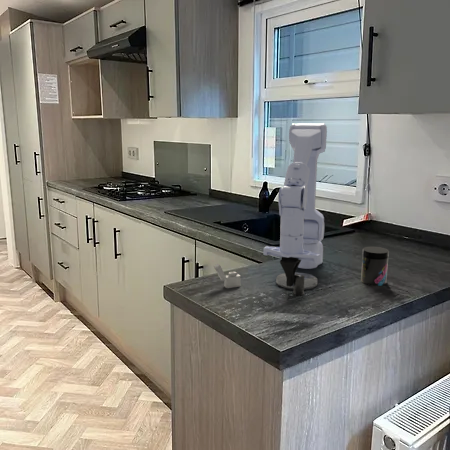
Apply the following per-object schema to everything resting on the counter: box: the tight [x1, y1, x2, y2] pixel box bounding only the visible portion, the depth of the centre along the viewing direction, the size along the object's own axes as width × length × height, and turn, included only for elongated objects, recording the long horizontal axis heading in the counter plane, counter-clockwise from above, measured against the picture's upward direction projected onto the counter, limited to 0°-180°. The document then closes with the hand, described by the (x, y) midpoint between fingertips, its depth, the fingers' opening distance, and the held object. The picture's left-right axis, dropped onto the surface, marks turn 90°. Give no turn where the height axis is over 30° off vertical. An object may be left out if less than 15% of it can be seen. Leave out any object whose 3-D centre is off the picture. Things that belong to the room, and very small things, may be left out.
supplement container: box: [360, 246, 390, 287], centre depth 125 cm, size 7×7×10 cm
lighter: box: [213, 263, 242, 289], centre depth 122 cm, size 7×2×8 cm, turn 112°
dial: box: [276, 272, 318, 296], centre depth 123 cm, size 15×11×5 cm
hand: (290, 285), depth 117 cm, fingers closed
